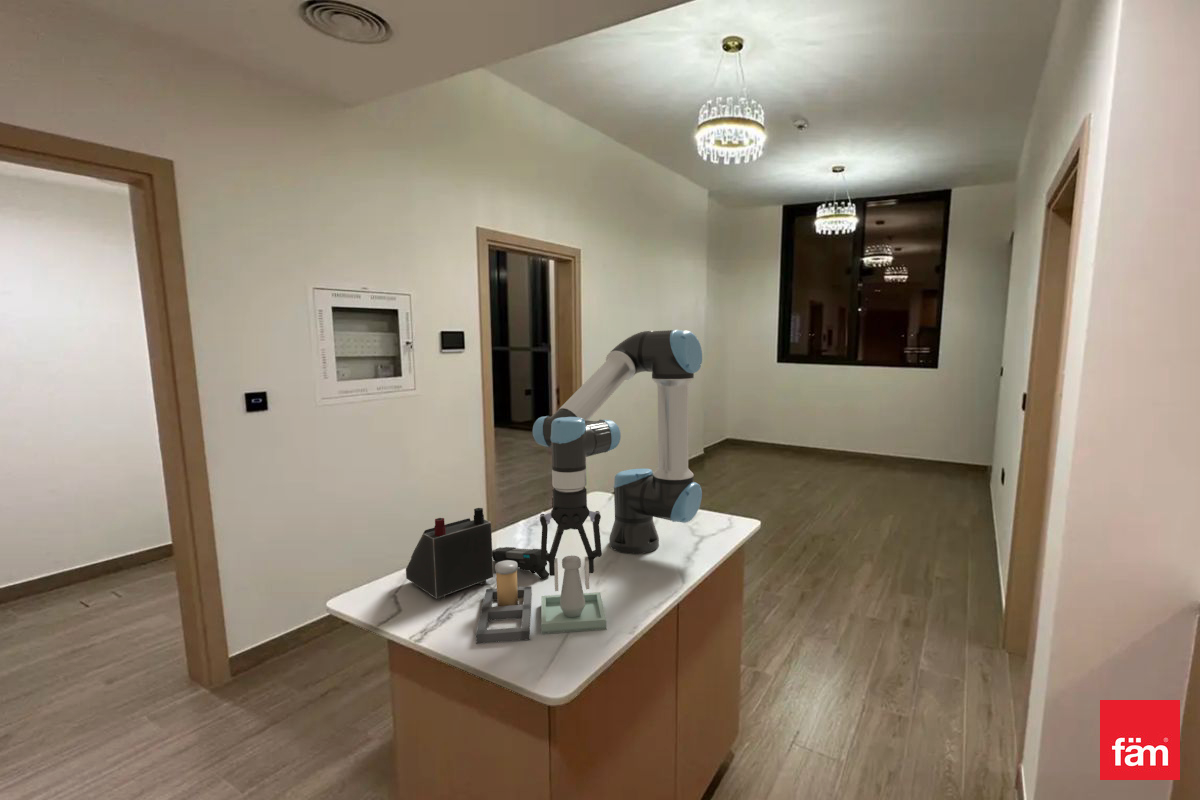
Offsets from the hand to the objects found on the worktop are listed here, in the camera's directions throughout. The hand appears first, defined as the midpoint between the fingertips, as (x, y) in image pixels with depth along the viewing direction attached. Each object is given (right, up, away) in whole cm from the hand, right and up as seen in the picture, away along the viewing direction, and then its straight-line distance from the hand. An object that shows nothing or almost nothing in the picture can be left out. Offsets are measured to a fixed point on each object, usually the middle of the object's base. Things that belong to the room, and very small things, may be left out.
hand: (571, 587), depth 122 cm
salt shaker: (0, -6, +1) cm, 6 cm away
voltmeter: (-33, -6, +19) cm, 39 cm away
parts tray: (0, -7, +1) cm, 7 cm away
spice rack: (-15, -7, +1) cm, 17 cm away
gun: (-16, -5, +27) cm, 32 cm away
